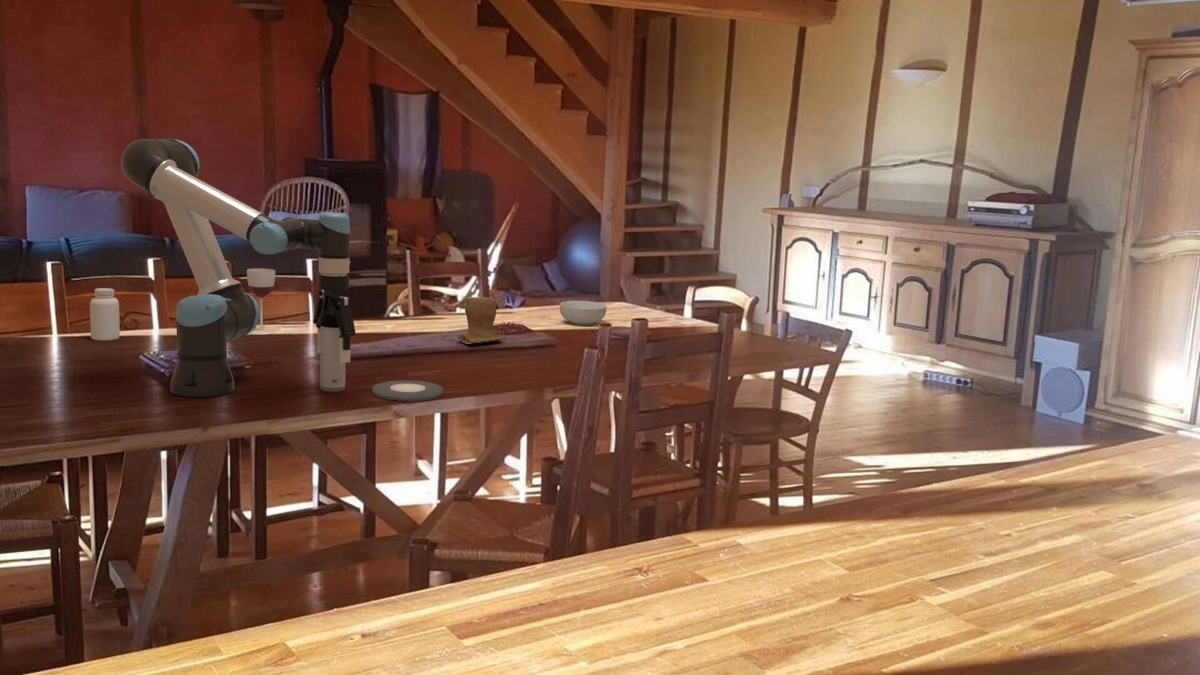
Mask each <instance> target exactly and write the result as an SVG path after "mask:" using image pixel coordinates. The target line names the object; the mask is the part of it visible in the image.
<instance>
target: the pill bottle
mask: <svg viewBox="0 0 1200 675" xmlns="http://www.w3.org/2000/svg"><path fill="white" fill-rule="evenodd" d="M94 296H95V297H93V298H91V300H90V302H89V314H90V315H89V319H90V320H89V321H90V322H89V323H90V338H91V339H92V340H94V341H99V342H100V341H101V342H102V341H103V342H107V341H116V340H119V339H120V335H121V334H120V332H121V331H120V302H119V300H118V299H117V298H116V297H114V296H115V289H113V288H109V287H103V288H102V287H100V288H95V289H94Z"/></svg>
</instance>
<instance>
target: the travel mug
mask: <svg viewBox="0 0 1200 675" xmlns="http://www.w3.org/2000/svg"><path fill="white" fill-rule="evenodd" d="M340 334H341V333H340V330H339V327H338V323H337V320H336V316H335V314H333V313H332V314H328V315H324V316H321V332H320V353H319V355H320V356H319V362H320V363H319V366H320V368H319V369H320V370H319V371H320V372H319V375H320V376H319V379H320V380H319V382H320V383H319V387H320V390H321V391H323V392H328V393H329V392H330V393H334V392H335V393H337V392H338V393H339V392H342V391H344V390H345V389H346V363H339V336H340Z"/></svg>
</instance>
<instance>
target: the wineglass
mask: <svg viewBox="0 0 1200 675" xmlns="http://www.w3.org/2000/svg"><path fill="white" fill-rule="evenodd" d="M246 276H247V279H246V280H247V284H248V289H249V291H250V293H252V294H253V295H255V296H256V297H258V298H259V312H260V316H259V325H260V326H259V327H260V328H259V329H256V330H255V329H254V330H253V331H252V332H250V333H249V334H252V335H270V334H273V333H274V331H273V330H270V329H264V327H263V325H264V324H263V323H264V322H263V321H264V317H263V314H264V312H263V310H264V309H263V298H265V297H267V296H268V295H270V294H271V293H272V292H273V290H274V288H275V287H274V286H275V281H276V270H275V269H272V268H248V269H246Z"/></svg>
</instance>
